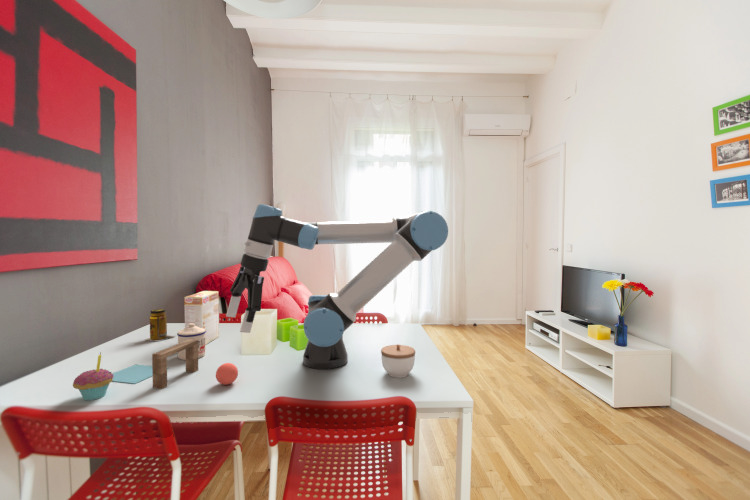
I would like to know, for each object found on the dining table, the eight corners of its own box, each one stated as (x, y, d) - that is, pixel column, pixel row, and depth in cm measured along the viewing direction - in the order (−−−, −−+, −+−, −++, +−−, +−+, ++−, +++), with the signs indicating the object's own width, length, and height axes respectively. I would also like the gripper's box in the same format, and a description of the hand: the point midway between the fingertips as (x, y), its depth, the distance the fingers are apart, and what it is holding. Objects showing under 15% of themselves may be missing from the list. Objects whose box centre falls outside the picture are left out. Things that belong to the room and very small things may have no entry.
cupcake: (120, 390, 104) (119, 347, 103) (99, 403, 95) (98, 357, 95) (89, 390, 103) (88, 347, 103) (64, 404, 95) (63, 357, 94)
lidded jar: (375, 370, 121) (376, 341, 120) (405, 366, 124) (406, 338, 124) (388, 382, 111) (389, 351, 110) (421, 378, 114) (421, 347, 114)
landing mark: (169, 368, 120) (169, 367, 120) (135, 384, 108) (135, 383, 108) (135, 364, 123) (135, 364, 123) (98, 379, 111) (98, 379, 111)
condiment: (145, 339, 153) (144, 310, 152) (165, 334, 160) (164, 307, 160) (156, 342, 149) (155, 312, 149) (176, 337, 157) (175, 308, 156)
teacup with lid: (197, 361, 128) (196, 327, 127) (171, 360, 128) (171, 326, 128) (214, 350, 139) (214, 319, 139) (191, 349, 140) (191, 318, 140)
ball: (242, 380, 111) (242, 361, 110) (230, 389, 105) (229, 368, 105) (224, 379, 112) (224, 359, 112) (211, 387, 106) (211, 366, 106)
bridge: (198, 370, 119) (198, 340, 119) (161, 388, 105) (161, 354, 104) (190, 369, 120) (189, 339, 119) (152, 387, 105) (152, 353, 105)
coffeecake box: (203, 336, 158) (203, 290, 157) (220, 336, 158) (219, 290, 157) (184, 347, 143) (183, 296, 142) (202, 347, 143) (201, 296, 142)
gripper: (231, 245, 119) (213, 309, 119) (259, 262, 99) (238, 338, 99) (253, 250, 123) (236, 312, 124) (285, 267, 104) (264, 340, 104)
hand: (237, 324), depth 112 cm, fingers open, 13 cm apart
